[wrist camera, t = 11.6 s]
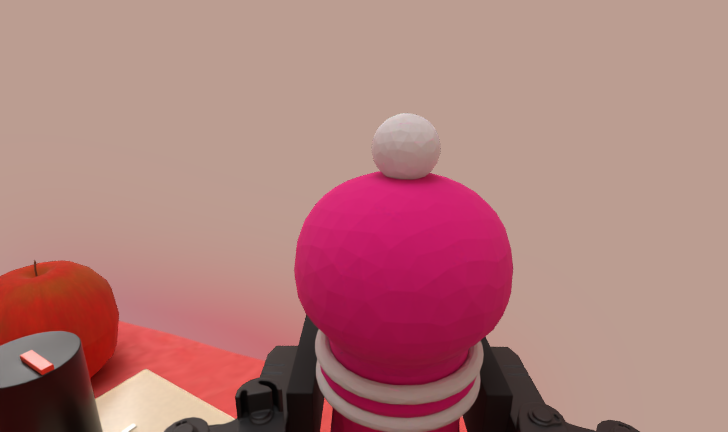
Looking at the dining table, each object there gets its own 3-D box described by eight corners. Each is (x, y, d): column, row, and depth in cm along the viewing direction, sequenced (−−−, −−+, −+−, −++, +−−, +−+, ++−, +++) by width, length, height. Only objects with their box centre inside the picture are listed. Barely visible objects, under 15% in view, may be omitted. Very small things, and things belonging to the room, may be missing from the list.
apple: (112, 331, 43) (91, 230, 40) (143, 378, 37) (120, 261, 33) (-14, 375, 37) (-53, 258, 33) (-6, 443, 30) (-54, 305, 26)
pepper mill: (400, 501, 21) (420, 104, 15) (519, 655, 15) (629, 118, 9) (268, 591, 17) (222, 109, 11) (360, 840, 12) (370, 137, 6)
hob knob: (-7, 491, 23) (-54, 362, 21) (83, 432, 27) (53, 317, 24) (33, 536, 21) (-14, 398, 18) (125, 465, 25) (98, 342, 22)
